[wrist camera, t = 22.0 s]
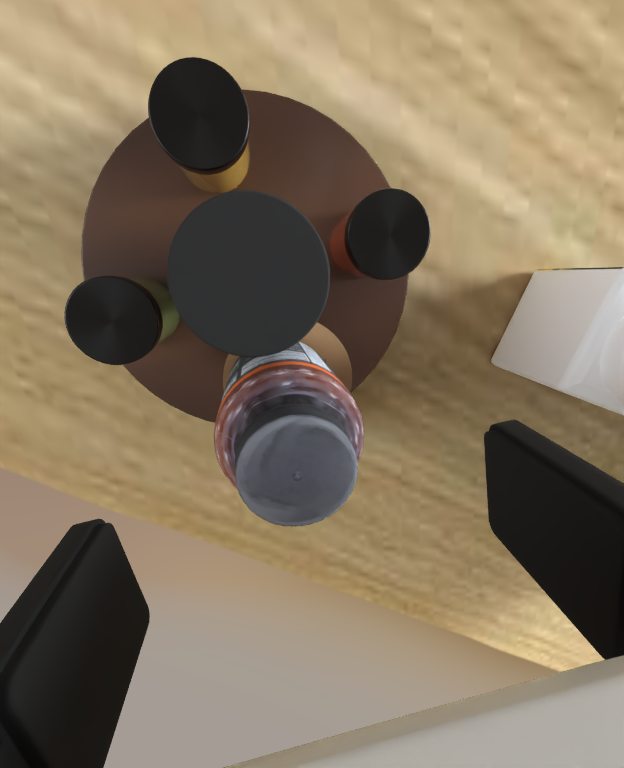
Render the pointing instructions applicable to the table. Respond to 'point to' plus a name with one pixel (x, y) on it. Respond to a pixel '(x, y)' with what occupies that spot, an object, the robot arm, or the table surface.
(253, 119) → the spice rack
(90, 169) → the table surface
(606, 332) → the medicine bottle
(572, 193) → the table surface
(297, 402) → the supplement bottle
